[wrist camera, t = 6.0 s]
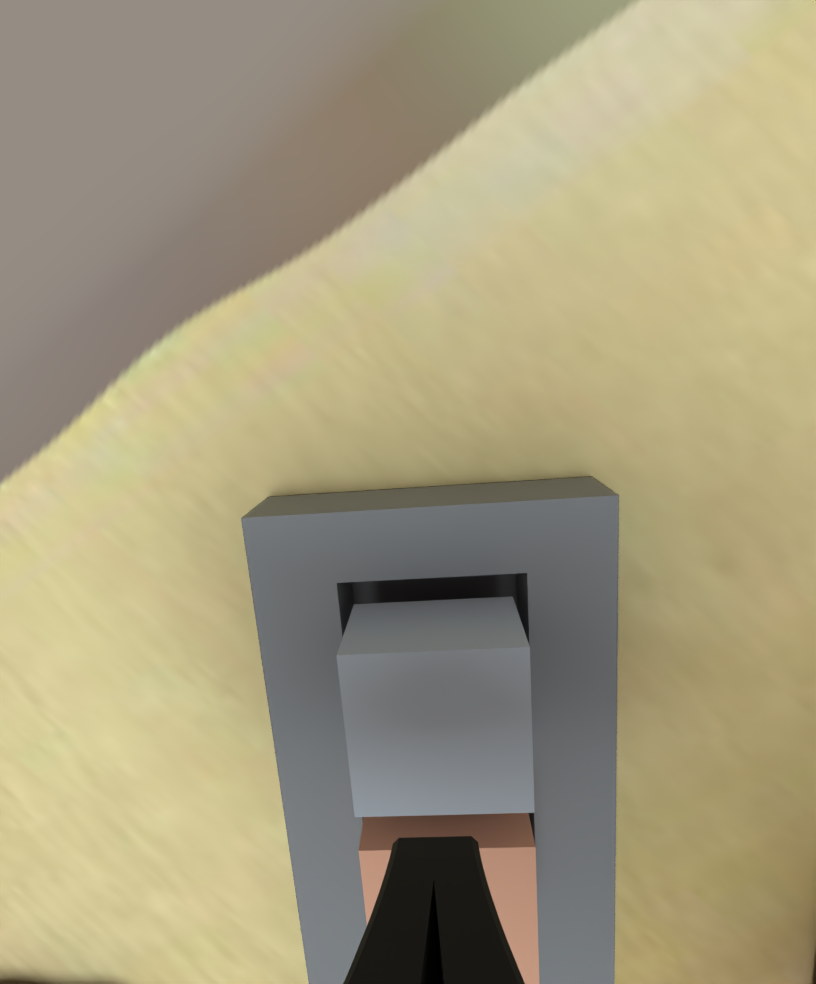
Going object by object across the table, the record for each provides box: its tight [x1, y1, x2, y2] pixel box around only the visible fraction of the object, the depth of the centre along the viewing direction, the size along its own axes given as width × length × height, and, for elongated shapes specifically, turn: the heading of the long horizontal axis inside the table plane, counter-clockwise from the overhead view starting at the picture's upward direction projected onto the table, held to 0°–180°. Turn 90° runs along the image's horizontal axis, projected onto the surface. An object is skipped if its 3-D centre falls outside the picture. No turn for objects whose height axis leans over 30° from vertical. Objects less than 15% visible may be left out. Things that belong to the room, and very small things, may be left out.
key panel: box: [241, 477, 619, 984], centre depth 19 cm, size 10×26×2 cm, turn 4°
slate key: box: [336, 596, 535, 817], centre depth 14 cm, size 4×4×3 cm
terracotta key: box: [359, 813, 539, 984], centre depth 16 cm, size 4×4×3 cm
